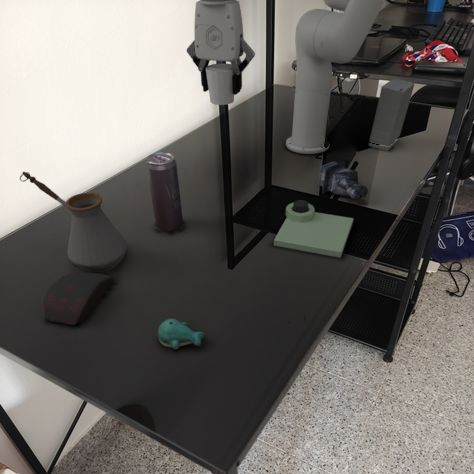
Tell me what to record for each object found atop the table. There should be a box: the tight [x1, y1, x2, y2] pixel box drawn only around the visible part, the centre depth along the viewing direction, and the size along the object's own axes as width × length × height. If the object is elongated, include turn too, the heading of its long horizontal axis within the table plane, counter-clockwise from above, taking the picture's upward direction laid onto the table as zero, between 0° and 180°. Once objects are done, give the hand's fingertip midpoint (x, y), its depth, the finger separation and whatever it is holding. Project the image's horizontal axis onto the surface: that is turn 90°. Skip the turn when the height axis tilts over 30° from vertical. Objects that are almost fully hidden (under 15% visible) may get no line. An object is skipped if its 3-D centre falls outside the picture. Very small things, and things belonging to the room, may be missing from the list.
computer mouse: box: [43, 271, 114, 326], centre depth 77 cm, size 8×14×4 cm, turn 165°
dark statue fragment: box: [317, 160, 369, 201], centre depth 102 cm, size 6×13×6 cm, turn 43°
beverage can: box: [145, 152, 184, 234], centre depth 90 cm, size 6×6×15 cm
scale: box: [273, 202, 354, 259], centre depth 91 cm, size 15×14×3 cm
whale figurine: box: [157, 318, 205, 350], centre depth 69 cm, size 6×7×4 cm
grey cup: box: [206, 62, 235, 106], centre depth 99 cm, size 7×7×7 cm
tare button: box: [292, 199, 309, 213], centre depth 94 cm, size 3×3×2 cm
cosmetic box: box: [368, 78, 415, 152], centre depth 120 cm, size 8×7×16 cm
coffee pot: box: [19, 171, 128, 273], centre depth 83 cm, size 21×12×15 cm, turn 59°
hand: (221, 90), depth 100 cm, fingers closed on grey cup, 6 cm apart
